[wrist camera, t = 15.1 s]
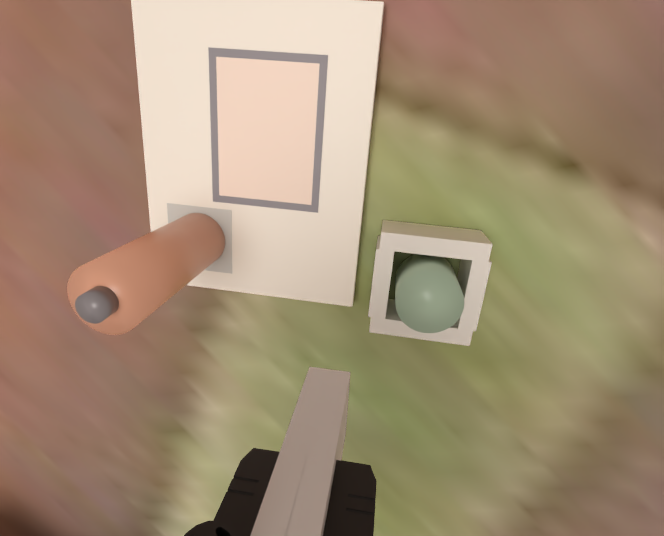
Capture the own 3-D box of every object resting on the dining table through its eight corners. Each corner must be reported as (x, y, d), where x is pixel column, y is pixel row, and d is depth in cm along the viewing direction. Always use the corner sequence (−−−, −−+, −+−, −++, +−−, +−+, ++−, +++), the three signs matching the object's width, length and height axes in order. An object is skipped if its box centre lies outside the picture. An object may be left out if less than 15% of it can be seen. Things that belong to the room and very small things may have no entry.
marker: (176, 259, 32) (58, 338, 21) (173, 209, 30) (45, 265, 19) (225, 266, 31) (132, 350, 20) (225, 216, 30) (125, 276, 19)
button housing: (369, 310, 32) (366, 331, 29) (379, 219, 30) (378, 231, 26) (464, 322, 31) (472, 346, 28) (484, 230, 29) (495, 244, 25)
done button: (391, 302, 30) (391, 328, 26) (399, 248, 29) (400, 268, 25) (449, 310, 30) (457, 337, 26) (460, 255, 28) (470, 276, 24)
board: (163, 275, 34) (154, 281, 33) (141, -6, 27) (129, -12, 26) (353, 300, 32) (352, 307, 31) (384, 7, 25) (383, 1, 24)
